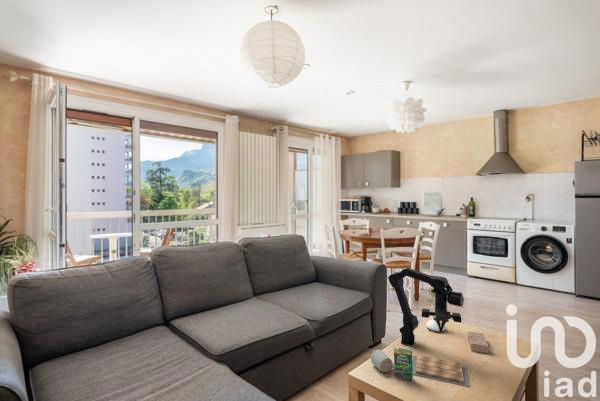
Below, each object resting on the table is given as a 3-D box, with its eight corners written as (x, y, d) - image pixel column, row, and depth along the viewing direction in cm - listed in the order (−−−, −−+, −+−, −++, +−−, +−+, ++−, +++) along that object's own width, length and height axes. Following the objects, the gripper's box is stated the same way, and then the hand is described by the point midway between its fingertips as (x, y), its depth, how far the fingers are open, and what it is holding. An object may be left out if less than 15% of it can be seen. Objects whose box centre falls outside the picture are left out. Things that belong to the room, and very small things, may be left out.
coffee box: (393, 376, 143) (393, 348, 143) (394, 373, 146) (394, 346, 145) (411, 381, 139) (411, 353, 139) (412, 378, 142) (413, 350, 141)
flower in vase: (450, 331, 187) (450, 290, 187) (434, 334, 184) (434, 292, 183) (435, 322, 200) (435, 284, 199) (420, 325, 197) (420, 286, 196)
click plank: (416, 365, 152) (416, 362, 151) (417, 356, 158) (417, 354, 158) (462, 374, 143) (462, 372, 143) (461, 365, 150) (461, 363, 150)
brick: (466, 337, 180) (466, 329, 180) (483, 340, 177) (483, 332, 177) (470, 352, 165) (470, 343, 165) (488, 354, 162) (488, 346, 162)
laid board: (415, 373, 145) (415, 370, 145) (416, 365, 151) (416, 363, 151) (463, 383, 137) (463, 380, 137) (462, 375, 143) (462, 372, 143)
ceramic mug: (380, 375, 144) (381, 359, 144) (370, 366, 152) (370, 350, 152) (399, 370, 148) (399, 354, 148) (388, 361, 156) (388, 346, 156)
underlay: (410, 374, 145) (410, 373, 145) (413, 356, 160) (413, 355, 160) (469, 386, 135) (469, 386, 135) (465, 366, 151) (465, 365, 151)
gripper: (421, 304, 158) (421, 334, 159) (462, 310, 150) (462, 341, 151) (422, 297, 168) (421, 325, 169) (460, 302, 161) (460, 331, 161)
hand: (440, 331), depth 162 cm, fingers closed
